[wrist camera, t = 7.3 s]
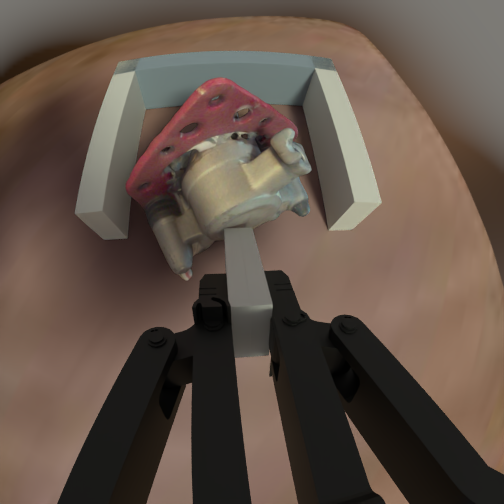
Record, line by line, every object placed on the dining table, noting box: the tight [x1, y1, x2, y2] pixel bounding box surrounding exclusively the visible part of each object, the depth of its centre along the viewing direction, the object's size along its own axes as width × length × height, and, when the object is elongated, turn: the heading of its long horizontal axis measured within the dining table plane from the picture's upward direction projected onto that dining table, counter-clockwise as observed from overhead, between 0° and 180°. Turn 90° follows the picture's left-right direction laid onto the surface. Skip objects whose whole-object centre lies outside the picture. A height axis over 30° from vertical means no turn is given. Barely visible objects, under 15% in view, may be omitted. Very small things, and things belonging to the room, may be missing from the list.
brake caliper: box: [125, 77, 311, 281], centre depth 17 cm, size 11×11×12 cm
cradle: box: [75, 51, 382, 240], centre depth 20 cm, size 15×19×5 cm
